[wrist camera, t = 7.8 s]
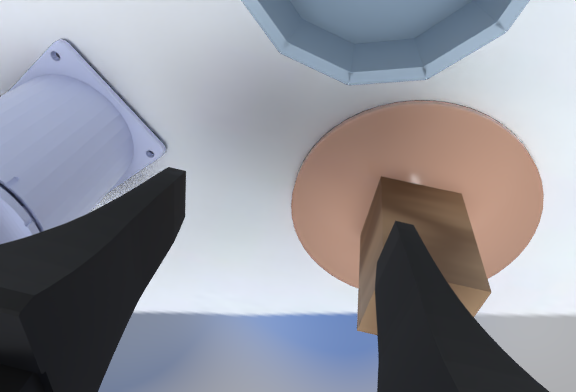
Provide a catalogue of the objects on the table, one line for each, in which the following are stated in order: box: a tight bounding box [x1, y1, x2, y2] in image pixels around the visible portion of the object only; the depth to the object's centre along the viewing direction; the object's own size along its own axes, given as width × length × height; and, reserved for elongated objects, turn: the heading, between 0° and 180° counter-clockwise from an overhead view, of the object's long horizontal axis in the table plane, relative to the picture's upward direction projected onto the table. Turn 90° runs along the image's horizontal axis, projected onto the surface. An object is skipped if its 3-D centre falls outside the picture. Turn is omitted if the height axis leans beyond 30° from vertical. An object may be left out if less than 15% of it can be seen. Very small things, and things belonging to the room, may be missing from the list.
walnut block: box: [357, 176, 491, 335], centre depth 21 cm, size 4×4×7 cm
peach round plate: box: [291, 100, 543, 288], centre depth 24 cm, size 14×14×1 cm
